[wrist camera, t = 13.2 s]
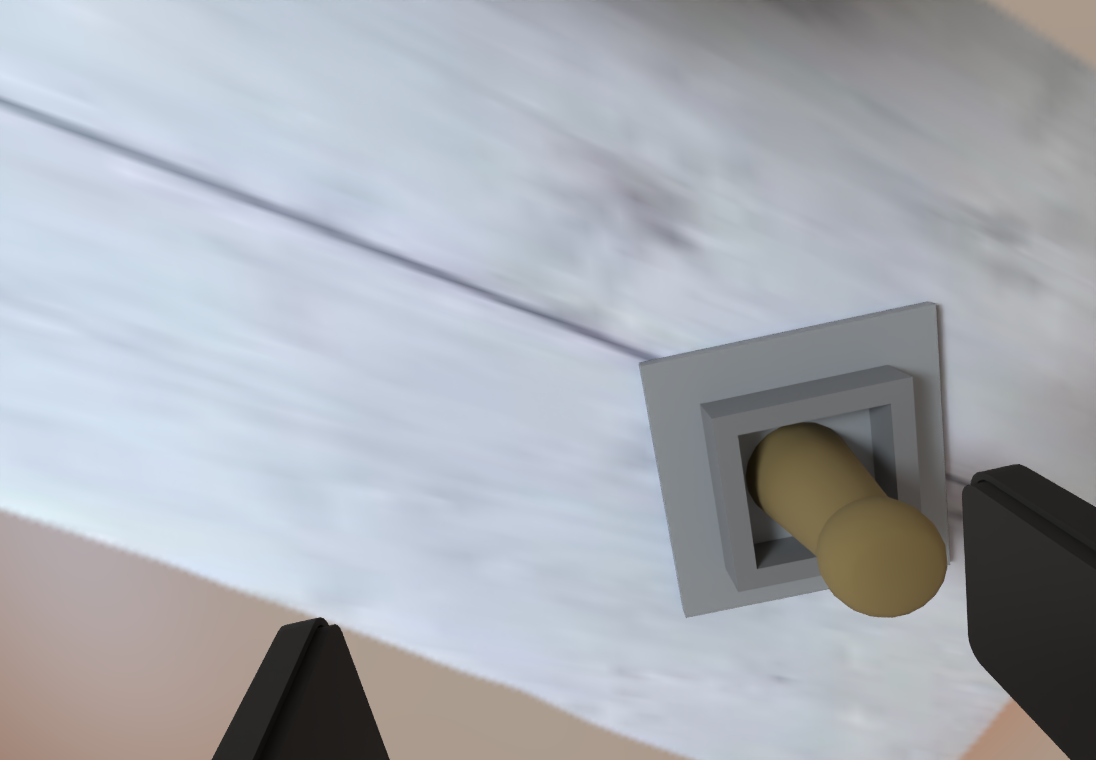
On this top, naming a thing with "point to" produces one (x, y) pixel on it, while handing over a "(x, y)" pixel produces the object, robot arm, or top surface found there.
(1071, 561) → the robot arm
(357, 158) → the top surface
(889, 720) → the top surface
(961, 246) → the top surface
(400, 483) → the top surface
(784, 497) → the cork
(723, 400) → the bay base
